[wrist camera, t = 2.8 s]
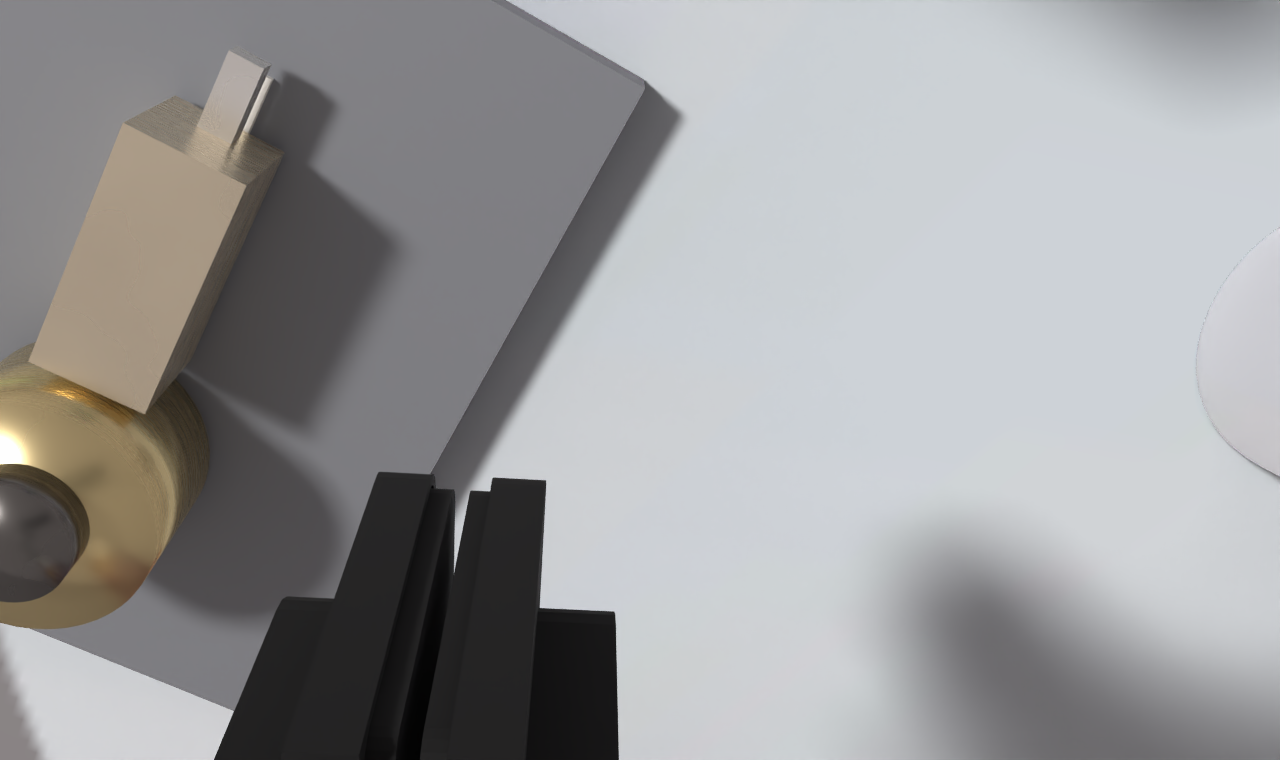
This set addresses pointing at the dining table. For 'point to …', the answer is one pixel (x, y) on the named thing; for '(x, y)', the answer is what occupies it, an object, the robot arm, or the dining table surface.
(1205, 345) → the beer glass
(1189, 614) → the dining table surface
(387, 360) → the board
